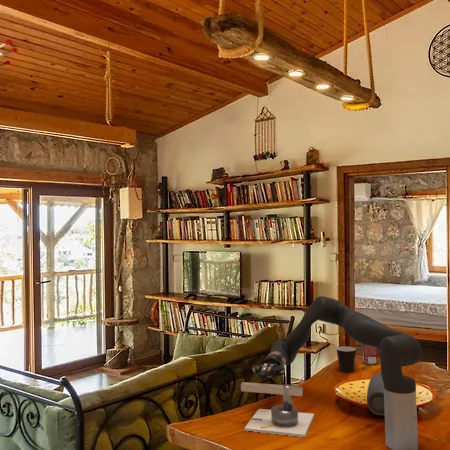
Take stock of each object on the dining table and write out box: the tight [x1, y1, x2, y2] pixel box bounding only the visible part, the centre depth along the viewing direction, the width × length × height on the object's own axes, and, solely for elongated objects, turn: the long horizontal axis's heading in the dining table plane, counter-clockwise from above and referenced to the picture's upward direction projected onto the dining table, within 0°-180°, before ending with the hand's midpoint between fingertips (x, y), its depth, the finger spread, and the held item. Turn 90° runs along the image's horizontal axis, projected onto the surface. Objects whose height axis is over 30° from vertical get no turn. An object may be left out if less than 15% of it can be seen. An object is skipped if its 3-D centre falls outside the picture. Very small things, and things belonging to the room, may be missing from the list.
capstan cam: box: [240, 381, 304, 426], centre depth 172 cm, size 21×9×12 cm, turn 71°
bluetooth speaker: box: [366, 372, 385, 416], centre depth 185 cm, size 23×9×10 cm, turn 161°
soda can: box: [361, 344, 379, 366], centre depth 241 cm, size 7×7×12 cm
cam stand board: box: [244, 408, 315, 438], centre depth 172 cm, size 20×18×1 cm
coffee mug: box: [336, 346, 357, 374], centre depth 229 cm, size 12×9×10 cm
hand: (262, 377), depth 179 cm, fingers closed
